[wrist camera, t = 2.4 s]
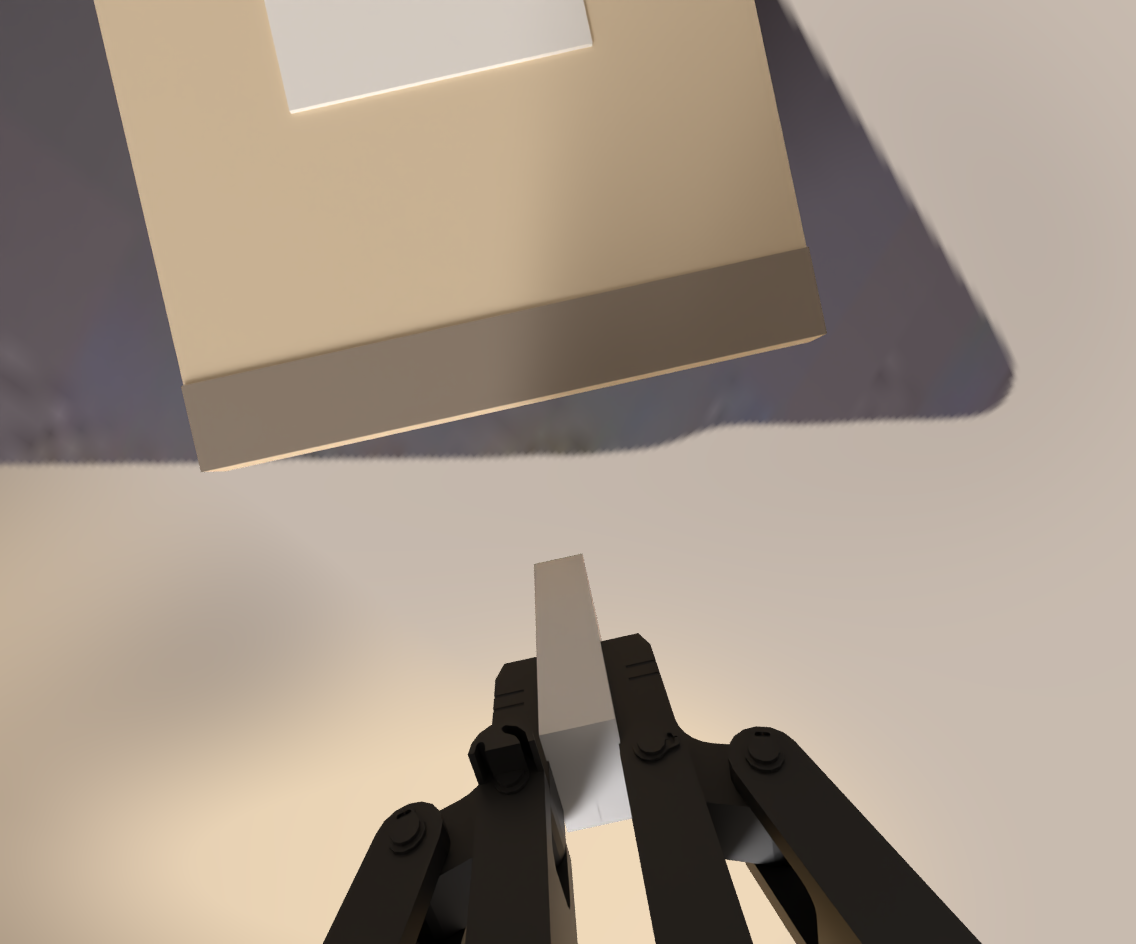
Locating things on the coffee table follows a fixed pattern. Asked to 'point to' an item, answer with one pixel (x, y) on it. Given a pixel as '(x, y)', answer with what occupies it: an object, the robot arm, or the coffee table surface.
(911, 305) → the coffee table surface
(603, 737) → the robot arm
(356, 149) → the carton lid
